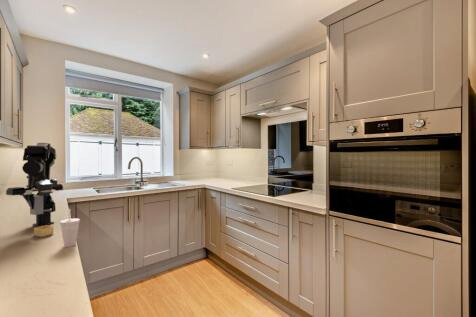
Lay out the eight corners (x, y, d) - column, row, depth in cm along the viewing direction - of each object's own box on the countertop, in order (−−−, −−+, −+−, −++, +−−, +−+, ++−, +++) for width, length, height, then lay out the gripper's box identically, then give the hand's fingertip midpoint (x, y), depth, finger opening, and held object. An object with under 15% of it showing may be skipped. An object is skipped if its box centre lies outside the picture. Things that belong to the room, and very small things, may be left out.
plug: (30, 214, 102) (30, 196, 102) (38, 212, 105) (38, 195, 105) (35, 215, 100) (35, 196, 100) (43, 213, 103) (43, 195, 103)
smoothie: (77, 240, 94) (77, 206, 94) (82, 244, 90) (82, 209, 90) (57, 245, 89) (57, 209, 89) (62, 249, 85) (62, 212, 85)
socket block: (33, 236, 99) (33, 228, 99) (46, 232, 104) (46, 225, 104) (41, 237, 97) (41, 229, 97) (53, 234, 101) (53, 226, 101)
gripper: (20, 175, 91) (20, 214, 91) (70, 172, 108) (70, 205, 108) (5, 174, 95) (5, 212, 95) (56, 172, 112) (56, 204, 112)
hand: (36, 208), depth 102 cm, fingers closed on plug, 3 cm apart
